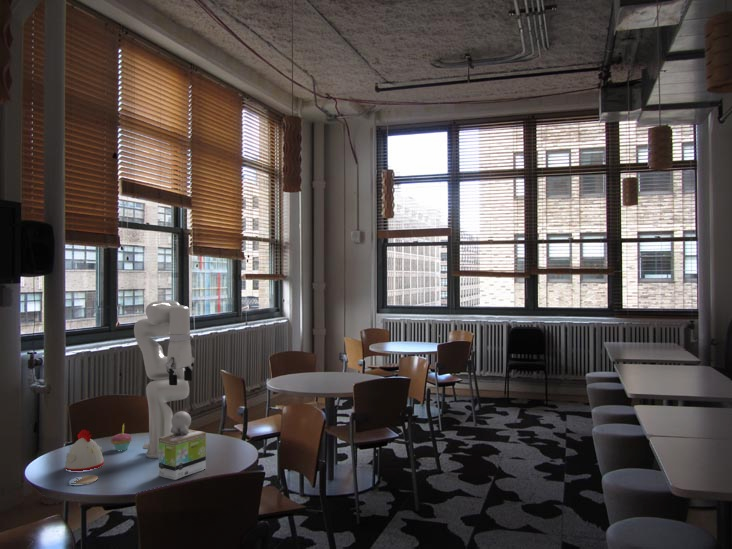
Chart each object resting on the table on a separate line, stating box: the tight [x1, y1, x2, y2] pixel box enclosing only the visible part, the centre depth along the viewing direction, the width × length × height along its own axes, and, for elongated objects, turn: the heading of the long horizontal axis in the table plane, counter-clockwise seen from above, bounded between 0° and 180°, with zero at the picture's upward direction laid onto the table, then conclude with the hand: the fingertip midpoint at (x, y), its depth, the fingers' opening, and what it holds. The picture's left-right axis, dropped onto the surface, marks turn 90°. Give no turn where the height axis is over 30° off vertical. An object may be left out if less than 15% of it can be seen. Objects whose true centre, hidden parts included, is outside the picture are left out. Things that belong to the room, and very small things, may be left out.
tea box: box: [158, 429, 207, 481], centre depth 227 cm, size 15×10×15 cm
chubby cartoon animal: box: [171, 410, 192, 435], centre depth 229 cm, size 7×12×8 cm, turn 0°
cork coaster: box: [71, 474, 99, 485], centre depth 220 cm, size 10×10×1 cm
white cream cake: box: [64, 429, 105, 471], centre depth 237 cm, size 14×14×15 cm
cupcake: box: [110, 423, 132, 452], centre depth 261 cm, size 9×8×12 cm
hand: (180, 382), depth 228 cm, fingers open, 9 cm apart
